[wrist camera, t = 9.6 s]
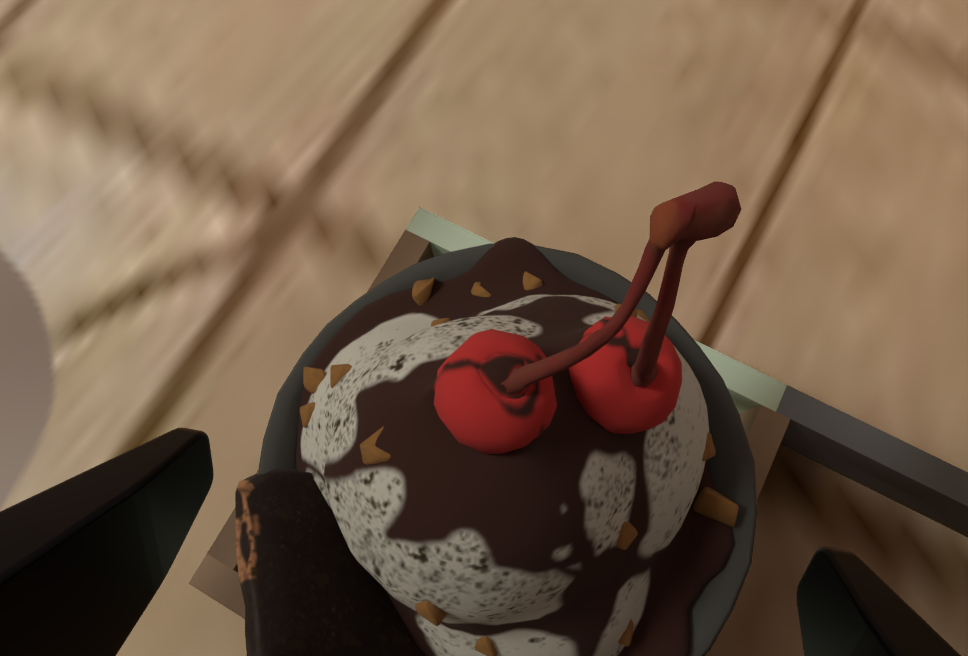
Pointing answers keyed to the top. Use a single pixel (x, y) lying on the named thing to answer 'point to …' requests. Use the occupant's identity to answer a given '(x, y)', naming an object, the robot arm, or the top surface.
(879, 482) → the tray
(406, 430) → the sundae
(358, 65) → the top surface
